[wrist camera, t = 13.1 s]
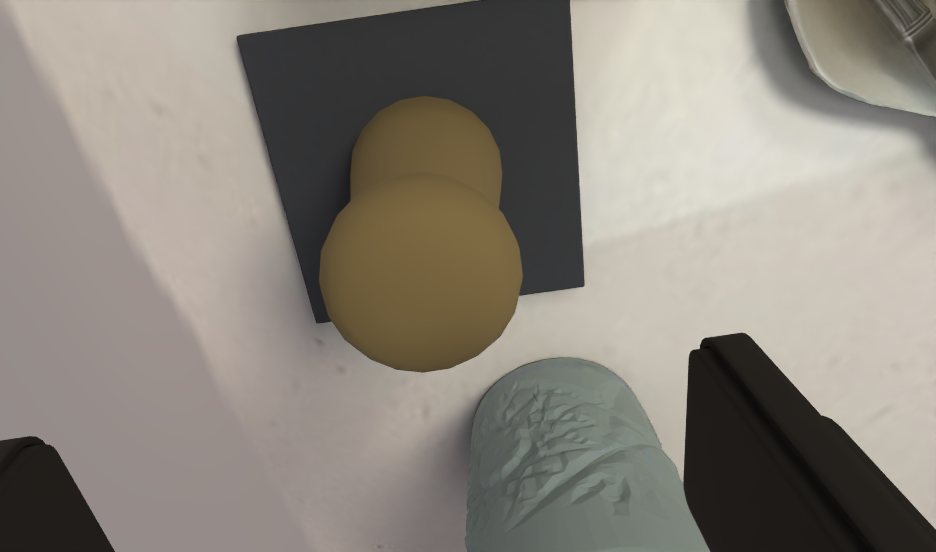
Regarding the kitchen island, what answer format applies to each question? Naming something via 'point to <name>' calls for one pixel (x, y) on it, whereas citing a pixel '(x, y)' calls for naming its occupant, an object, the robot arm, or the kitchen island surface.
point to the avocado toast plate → (872, 49)
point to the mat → (435, 75)
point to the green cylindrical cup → (572, 468)
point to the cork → (422, 240)
